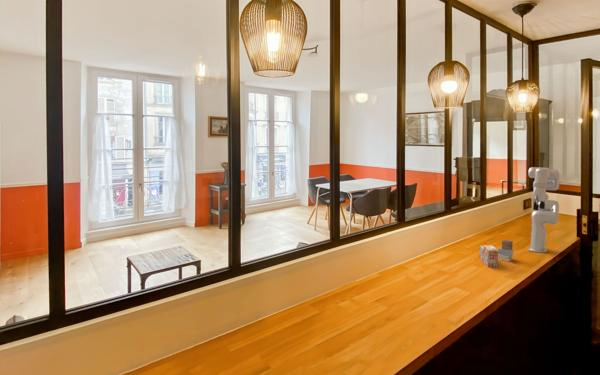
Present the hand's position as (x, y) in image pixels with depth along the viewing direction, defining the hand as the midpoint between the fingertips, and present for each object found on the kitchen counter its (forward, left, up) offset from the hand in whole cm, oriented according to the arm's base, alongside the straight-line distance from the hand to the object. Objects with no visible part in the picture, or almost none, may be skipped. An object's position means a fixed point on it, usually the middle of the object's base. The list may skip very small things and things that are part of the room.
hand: (538, 209), depth 274 cm
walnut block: (+20, -11, -28) cm, 36 cm away
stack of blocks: (+37, -15, -37) cm, 54 cm away
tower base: (+20, -11, -36) cm, 43 cm away
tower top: (+20, -12, -32) cm, 40 cm away
